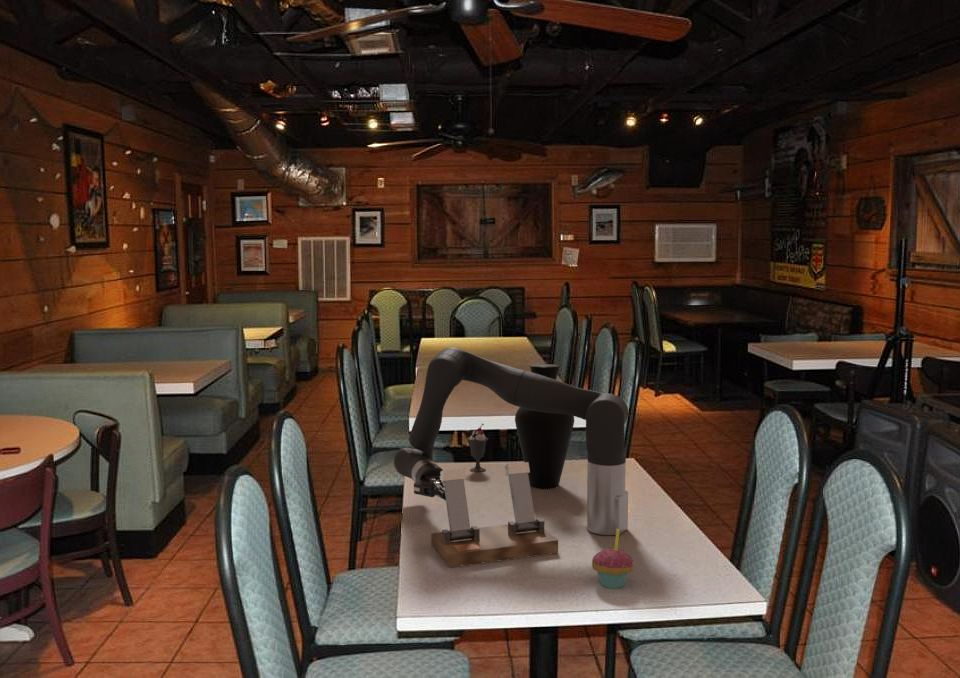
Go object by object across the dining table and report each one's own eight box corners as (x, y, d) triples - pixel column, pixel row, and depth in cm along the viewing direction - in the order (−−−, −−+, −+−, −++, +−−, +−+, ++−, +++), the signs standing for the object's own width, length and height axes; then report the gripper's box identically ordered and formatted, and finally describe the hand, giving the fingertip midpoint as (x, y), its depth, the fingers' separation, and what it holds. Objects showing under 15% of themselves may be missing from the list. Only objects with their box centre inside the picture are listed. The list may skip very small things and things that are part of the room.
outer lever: (470, 539, 190) (461, 470, 195) (473, 537, 188) (464, 468, 192) (449, 541, 188) (440, 472, 193) (451, 540, 186) (442, 470, 191)
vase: (506, 479, 248) (506, 363, 244) (560, 474, 253) (560, 361, 249) (527, 496, 231) (527, 372, 227) (583, 490, 236) (584, 369, 232)
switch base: (534, 532, 202) (534, 510, 202) (558, 552, 189) (558, 528, 188) (431, 545, 194) (431, 522, 193) (448, 567, 181) (448, 542, 180)
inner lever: (535, 530, 195) (524, 464, 200) (539, 529, 193) (528, 462, 198) (514, 533, 193) (504, 465, 198) (518, 532, 191) (507, 464, 196)
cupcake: (605, 572, 178) (606, 518, 176) (641, 582, 172) (642, 526, 171) (583, 585, 171) (584, 529, 170) (620, 596, 166) (621, 538, 164)
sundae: (488, 473, 255) (488, 425, 253) (466, 473, 255) (466, 425, 253) (488, 467, 261) (488, 420, 260) (467, 467, 262) (467, 420, 260)
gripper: (454, 489, 214) (475, 508, 198) (404, 493, 210) (421, 514, 194) (453, 460, 214) (474, 478, 197) (403, 465, 209) (420, 483, 193)
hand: (448, 496), depth 196 cm, fingers closed
